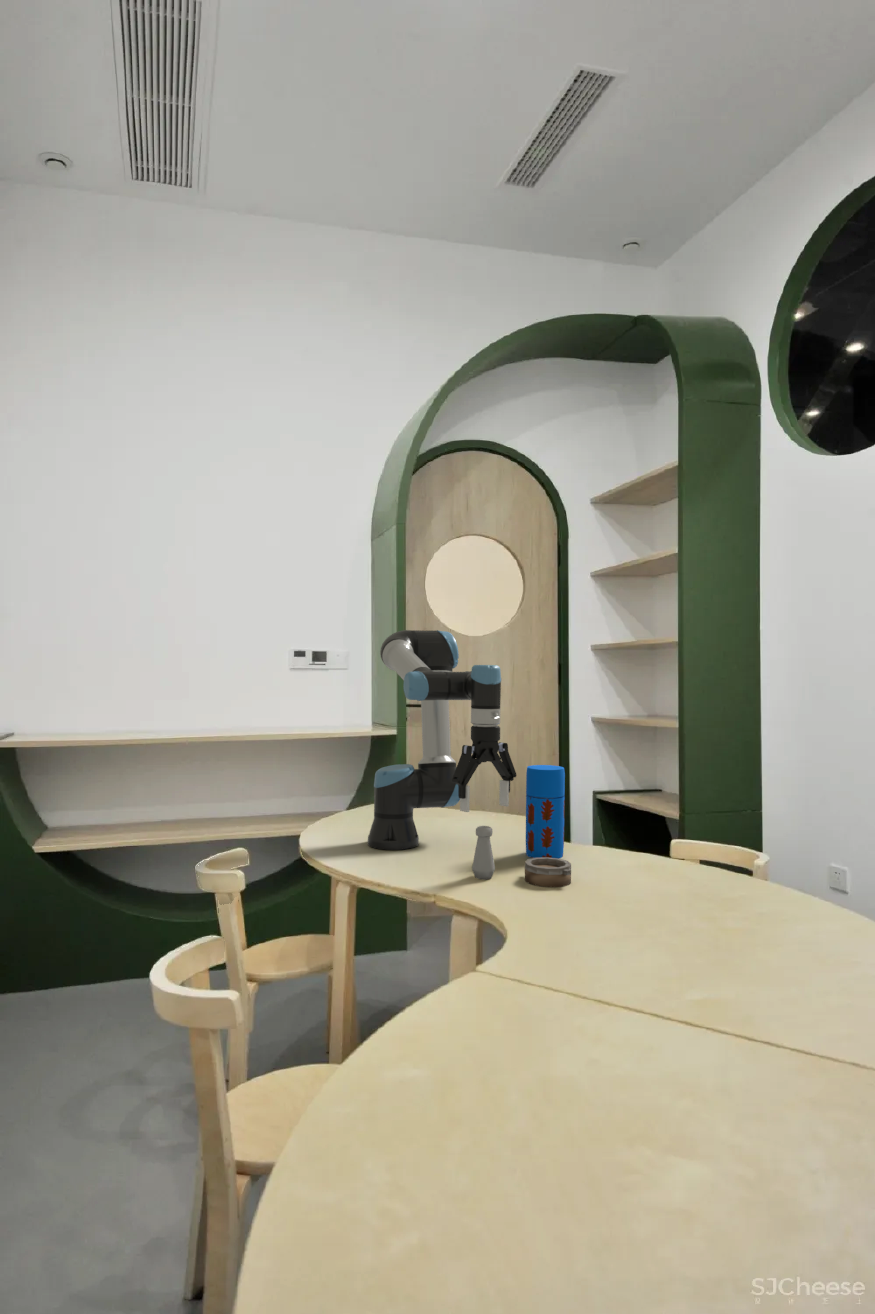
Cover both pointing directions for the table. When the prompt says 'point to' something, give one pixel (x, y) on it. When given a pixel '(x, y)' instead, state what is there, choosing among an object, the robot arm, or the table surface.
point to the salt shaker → (483, 854)
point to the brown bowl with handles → (548, 872)
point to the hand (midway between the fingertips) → (484, 808)
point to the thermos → (545, 811)
